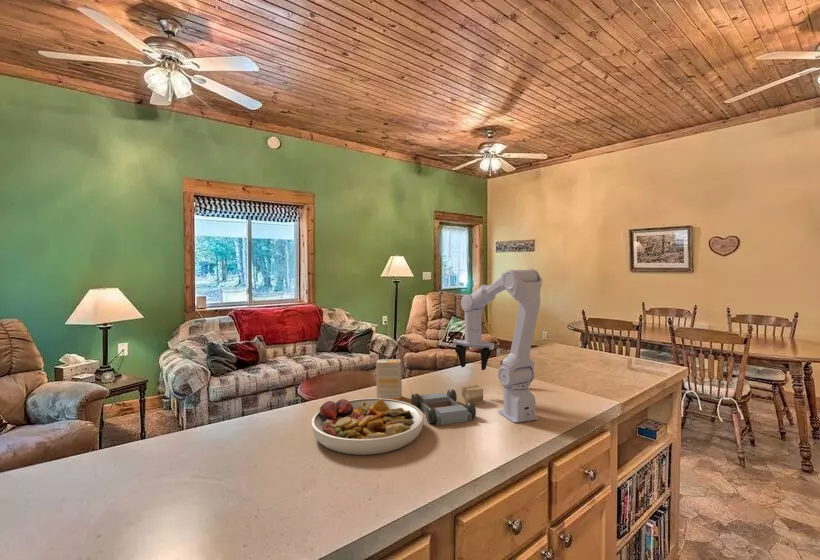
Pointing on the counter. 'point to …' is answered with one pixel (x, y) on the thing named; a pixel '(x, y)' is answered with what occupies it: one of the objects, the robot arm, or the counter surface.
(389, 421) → the bowl
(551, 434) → the counter surface
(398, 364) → the supplement box
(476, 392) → the engine block
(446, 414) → the car chassis
